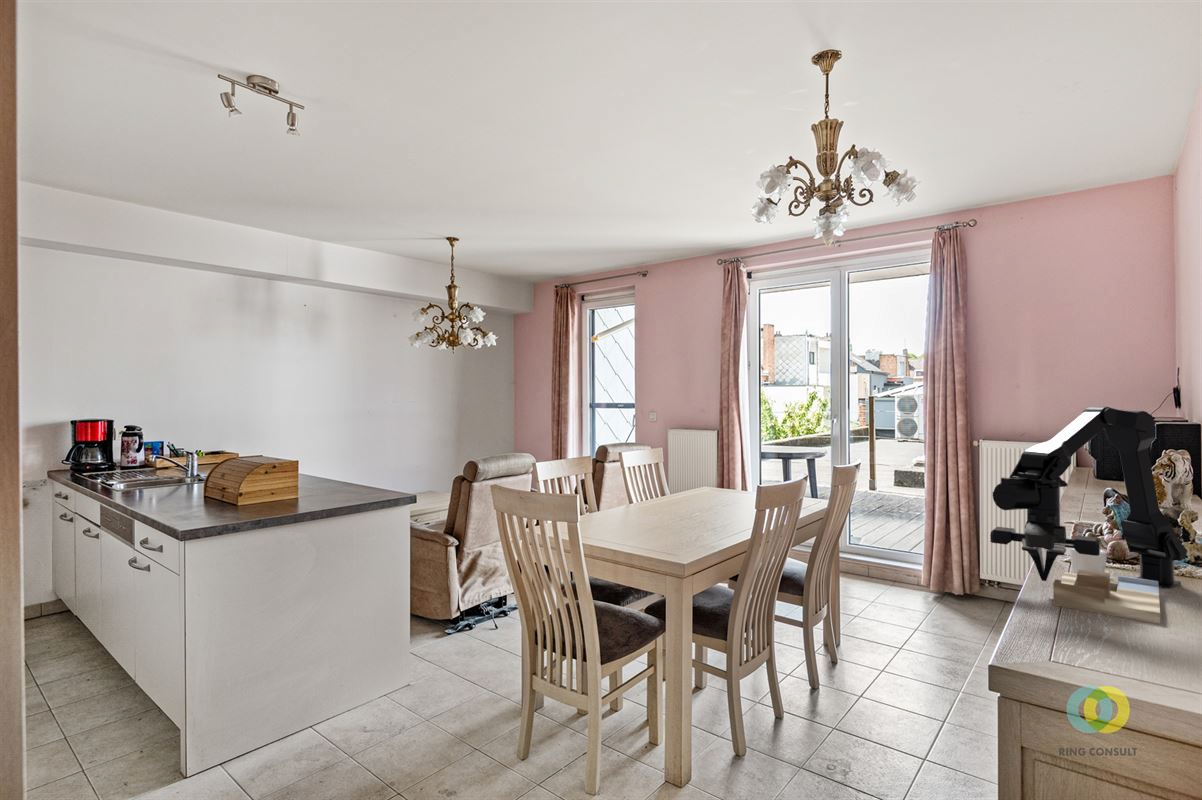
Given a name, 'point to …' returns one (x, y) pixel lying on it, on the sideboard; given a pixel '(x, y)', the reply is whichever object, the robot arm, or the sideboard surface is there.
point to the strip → (1138, 584)
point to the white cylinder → (1088, 561)
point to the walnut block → (1094, 580)
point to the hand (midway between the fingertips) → (1044, 580)
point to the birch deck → (1106, 599)
